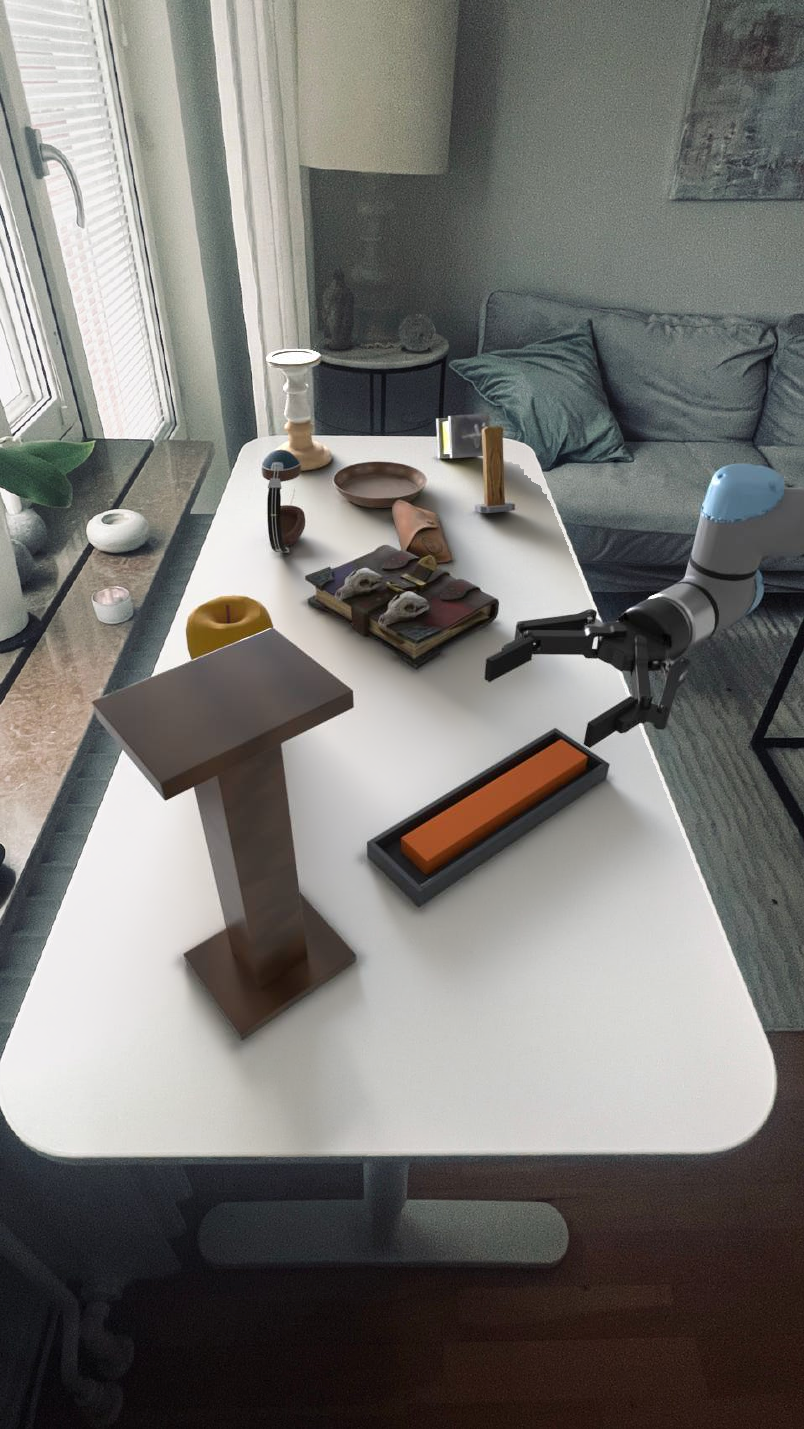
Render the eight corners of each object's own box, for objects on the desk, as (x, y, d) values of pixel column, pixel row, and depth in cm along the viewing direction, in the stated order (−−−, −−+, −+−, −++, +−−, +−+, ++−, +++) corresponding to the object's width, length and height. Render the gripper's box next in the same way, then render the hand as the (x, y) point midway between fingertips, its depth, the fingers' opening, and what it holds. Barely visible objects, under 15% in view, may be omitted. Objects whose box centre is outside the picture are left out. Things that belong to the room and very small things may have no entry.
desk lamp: (440, 504, 167) (478, 513, 139) (436, 418, 162) (475, 410, 133) (475, 501, 168) (520, 510, 140) (472, 416, 163) (518, 407, 135)
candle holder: (287, 445, 169) (277, 345, 156) (340, 452, 166) (335, 350, 153) (261, 467, 160) (249, 362, 147) (318, 474, 157) (310, 368, 144)
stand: (303, 887, 78) (272, 626, 59) (365, 954, 72) (353, 690, 53) (174, 966, 71) (91, 700, 52) (230, 1048, 65) (160, 783, 46)
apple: (268, 721, 98) (256, 634, 90) (184, 713, 99) (165, 627, 91) (290, 669, 106) (281, 585, 98) (212, 663, 107) (197, 579, 99)
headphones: (278, 503, 144) (260, 573, 128) (269, 423, 133) (248, 489, 118) (312, 504, 144) (298, 574, 128) (306, 424, 133) (289, 490, 118)
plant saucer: (402, 469, 159) (402, 454, 157) (442, 503, 147) (443, 487, 145) (319, 484, 153) (318, 469, 152) (355, 520, 141) (354, 504, 139)
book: (503, 624, 115) (507, 579, 110) (413, 673, 106) (414, 627, 101) (383, 559, 130) (382, 517, 126) (295, 597, 121) (291, 554, 116)
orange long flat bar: (558, 752, 93) (561, 738, 91) (585, 771, 90) (588, 756, 89) (400, 852, 81) (401, 837, 79) (426, 875, 78) (426, 861, 77)
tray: (552, 741, 95) (555, 727, 93) (606, 778, 90) (610, 763, 89) (367, 856, 81) (366, 841, 80) (418, 907, 76) (419, 892, 75)
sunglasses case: (455, 559, 129) (436, 528, 125) (418, 581, 130) (398, 551, 126) (437, 512, 143) (419, 483, 139) (404, 532, 144) (385, 504, 140)
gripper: (753, 706, 85) (629, 796, 74) (574, 610, 99) (450, 674, 89) (774, 648, 80) (645, 735, 69) (583, 557, 95) (452, 617, 84)
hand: (535, 701), depth 79 cm, fingers open, 13 cm apart
